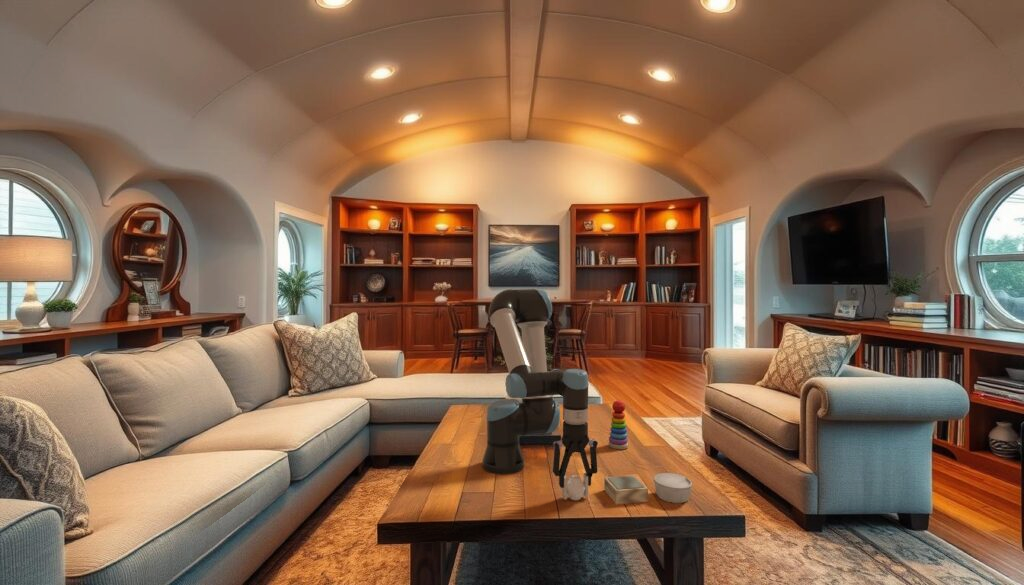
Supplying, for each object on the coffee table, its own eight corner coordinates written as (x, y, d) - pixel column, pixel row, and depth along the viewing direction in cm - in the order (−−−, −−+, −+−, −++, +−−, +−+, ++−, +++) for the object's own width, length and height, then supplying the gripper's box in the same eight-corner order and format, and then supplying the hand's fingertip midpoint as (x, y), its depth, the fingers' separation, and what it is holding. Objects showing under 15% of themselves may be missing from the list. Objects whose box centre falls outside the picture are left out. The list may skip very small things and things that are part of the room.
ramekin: (695, 506, 136) (695, 488, 136) (656, 504, 138) (656, 486, 138) (687, 490, 147) (687, 474, 147) (651, 488, 149) (651, 471, 149)
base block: (616, 504, 138) (616, 490, 138) (604, 489, 148) (604, 476, 148) (648, 501, 139) (647, 487, 139) (634, 487, 149) (634, 474, 149)
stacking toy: (630, 450, 184) (630, 403, 184) (610, 450, 184) (610, 403, 184) (626, 443, 192) (626, 398, 192) (606, 443, 192) (606, 398, 192)
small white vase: (573, 491, 145) (573, 469, 145) (589, 497, 141) (589, 475, 141) (560, 498, 141) (560, 475, 141) (577, 504, 137) (577, 481, 137)
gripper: (547, 426, 136) (547, 504, 136) (609, 423, 139) (609, 500, 139) (542, 418, 143) (541, 493, 143) (600, 416, 146) (600, 489, 146)
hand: (575, 496), depth 141 cm, fingers closed on small white vase, 6 cm apart
